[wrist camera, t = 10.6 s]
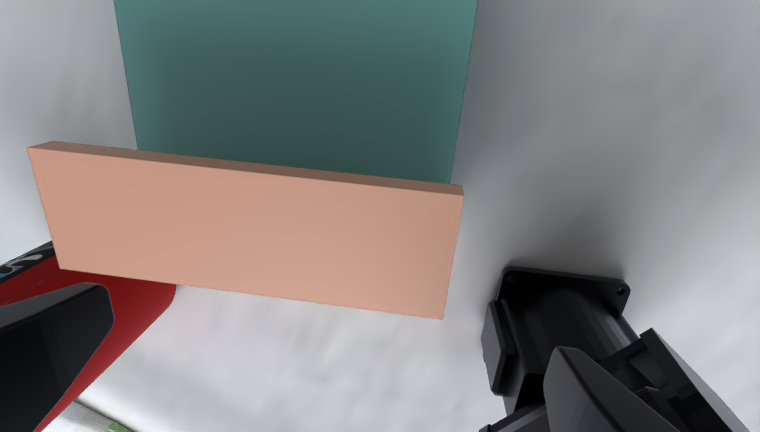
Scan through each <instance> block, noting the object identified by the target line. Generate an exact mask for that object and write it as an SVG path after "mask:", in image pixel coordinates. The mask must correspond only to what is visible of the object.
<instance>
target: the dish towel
mask: <svg viewBox="0 0 760 432" xmlns="http://www.w3.org/2000/svg"><path fill="white" fill-rule="evenodd" d="M42 432H132V431H131V430H129V429H127V428H125V427H124V426H122V425H121V424H119V423H117V422H115V421H113V420H110V419H108V418H106V417H104V416H102V415H100V414H98V413H96V412H94V411H92V410H91V409H89V408H87V407H85V406H83V405H81V404H79V403H77V402H75V401H73V402H72V403H71V404H70V405H69V406H68V407H67V408H66V409H65V410H64V411H63V412H62V413H60V414H59V415H58V416H57V417H56V418H55V419H54V420H53V421H52V422H51V423H50V424H49V425H48V426H47V427H46V428H45V429H44V430H43V431H42Z"/></svg>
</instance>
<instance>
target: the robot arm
mask: <svg viewBox="0 0 760 432" xmlns="http://www.w3.org/2000/svg"><path fill="white" fill-rule="evenodd" d="M511 274H514V275H516V276H515V277H514V278H511V279H510V278H507V277H508V276H509V275H511ZM618 288H622V289H621V290H620V291H618V292H615V290H616V289H618ZM629 294H630V287H629V286H628V285H627V284H626V283H625V282H624V281H623V280H620V279H612V278H603V277H595V276H587V275H579V274H571V273H563V272H554V271H546V270H538V269H530V268H522V267H514V266H511V267H507V268H505V269H504V270H503V271H502V273H501V277H500V282H499V286H498V290H497V295H496V299H495V300H492V301H491V302H490V303H489V304H488V309H487V313H486V318H485V322H484V326H483V331H482V335H481V341H482V346H483V358H484V362H485V363H486V367H487V373H488V378H489V383H490V389H491V391H492V392H493V394H494V395H497V396H503V400H504V405H505V409H506V414H507V417H505V418H504V419H502V420H500V421H498V422H497V423H495V424H493V425H492V426H491V425H490V424H488V425H487V426H485V427H483V428H481V429H480V430H479V432H750V431H749V430H748V429H747V428H746V427H745V426H744V424H743V423H742V422H741V421H740V420H739V419H738V418H737V416H736V415H735V414H734V413H733V412H732V411H731V410H730V408H729V407H728V406H727V405H726V404H725V403H724V402H723V400H722V399H721V398H720V397H719V396H718V395H717V394H716V393H715V392H714V391H713V390H712V389H711V388H710V387H709V386H708V385H707V384H706V383H705V382H704V381H703V380H702V379H701V378H700V376H699V375H698V374H697V373H696V372H695V371H694V370H693V369H692V368H691V367H690V366H689V365H688V364H687V363H686V362H685V361H684V360H683V359H682V358H681V357H680V356H679V355H678V354H677V353H676V352H675V351H674V350H673V349H672V348H671V347H670V346H669V345H668V344H667V343H666V342H665V341H664V340H663V338H662V337H661V336H660V335H659V334H658V333H657V332H656V331H655V330H654V329H653V328H650V329H649V330H647V331H645V332H644V333H642V334H640V337H641V338H639V337H638V336H637V335H636V333H635V332H634V331H633V329H632V328H631V327H630V325H629V324H628V323H627V321H626V320H625V319H624V317H623V316H622V313H623V310H624V307H625V305H626V302H627V300H628V297H629ZM114 319H115V318H114V312H113V308H112V303H111V299H110V295H109V291H108V289H107V288H106V286H104V285H102V284H96V283H88V282H83V283H79V284H75V285H72V286H69V287H65V288H62V289H59V290H55V291H52V292H49V293H45V294H42V295H39V296H36V297H32V298H29V299H26V300H22V301H19V302H16V303H12V304H9V305H6V306H2V307H0V432H34V430H35V429H36V428H37V427H38V426H39V425H40V423H41V422H42V421H43V420H44V419H45V418H46V416H47V415H48V414H49V413H50V412H51V411H52V409H53V408H54V407H55V406H56V404H57V403H58V402H59V401H60V400H61V398H62V397H63V396H64V395H65V393H66V392H67V391H68V389H69V388H70V387H71V385H72V384H73V382H74V381H75V380H76V378H77V377H78V375H79V374H80V373H81V371H82V370H83V368H84V367H85V366H86V364H87V363H88V361H89V360H90V359H91V357H92V356H93V354H94V353H95V352H96V350H97V349H98V348H99V346H100V345H101V343H102V342H103V341H104V339H105V338H106V336H107V335H108V334H109V332H110V331H111V329H112V327H113V325H114Z"/></svg>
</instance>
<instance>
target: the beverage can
mask: <svg viewBox="0 0 760 432" xmlns="http://www.w3.org/2000/svg"><path fill="white" fill-rule="evenodd" d="M83 282H88V283H96V284H102V285H104V286H106V288H107V289H108V291H109V295H110V299H111V303H112V308H113V312H114V318H115V319H114V325H113V327H112V329H111V331H110V332H109V334H108V335H107V336H106V338H105V339H104V341H103V342H102V343H101V345H100V346H99V348H98V349H97V350H96V352H95V353H94V354H93V356H92V357H91V359H90V360H89V361H88V363H87V364H86V366H85V367H84V368H83V370H82V371H81V373H80V374H79V375H78V377H77V378H76V380H75V381H74V382H73V384H72V385H71V387H70V388H69V389H68V391H67V392H66V393H65V395H64V396H63V397H62V398H61V400H60V401H59V402H58V403H57V404H56V406H55V407H54V408H53V409H52V411H51V412H50V413H49V414H48V415H47V416H46V418H45V419H44V420H43V421H42V422H41V423H40V425H39V426H38V427H37V428H36V429H35V430H34V432H42V431H43V430H44V429H45V428H46V427H47V426H48V425H49V424H50V423H51V422H52V421H53V420H54V419H55V418H56V417H57V416H58V415H59V414H60V413H62V412H63V411H64V410H65V409H66V408H67V407H68V406H69V405H70V404H71V403H72V402H73V401H74V400H75V399H76V398H77V397H78V396H79V395H80V394H81V393H82V392H83V391H84V390H85V389H86V388H87V387H88V386H89V385H90V384H91V383H92V382H93V381H94V380H95V379H97V378H98V377H99V376H100V375H101V374H102V373H103V372H104V371H105V370H106V369H107V368H108V367H109V366H110V365H111V364H112V363H113V362H114V361H115V360H116V359H117V358H118V357H119V356H120V355H121V354H122V353H123V352H124V351H125V350H126V349H127V348H128V347H129V346H130V345H131V344H132V343H133V342H134V341H135V340H136V339H137V338H138V337H139V336H140V335H141V334H142V333H143V332H144V331H145V330H146V329H147V328H148V327H149V326H150V325H151V324H152V323H153V322H154V321H155V320H156V319H157V318H158V317H159V316H160V315H161V314H162V313H163V312H164V311H165V310H166V309H167V308H168V307H169V306H170V304H171V302H172V300H173V298H174V295H175V291H176V284H171V283H164V282H156V281H149V280H141V279H134V278H126V277H119V276H111V275H104V274H97V273H89V272H82V271H74V270H67V269H60V267H59V264H58V260H57V256H56V253H55V249H54V246H53V242H52V241H50V242H48V243H45V244H43V245H41V246H39V247H37V248H35V249H33V250H31V251H29V252H27V253H25V254H23V255H21V256H19V257H17V258H15V259H13V260H10V261H8V262H6V263H4V264H2V265H0V307H2V306H6V305H9V304H12V303H16V302H19V301H22V300H26V299H29V298H32V297H36V296H39V295H42V294H45V293H49V292H52V291H55V290H59V289H62V288H65V287H69V286H72V285H75V284H79V283H83Z"/></svg>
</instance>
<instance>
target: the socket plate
mask: <svg viewBox="0 0 760 432" xmlns="http://www.w3.org/2000/svg"><path fill="white" fill-rule="evenodd" d="M477 3H478V0H114V6H115V12H116V18H117V24H118V30H119V37H120V43H121V49H122V55H123V61H124V67H125V73H126V79H127V86H128V92H129V98H130V104H131V110H132V116H133V122H134V128H135V135H136V141H137V147H138V150H131V149H121V148H112V147H103V146H94V145H85V144H75V143H66V142H57V141H52V142H48V143H44V144H39V145H35V146H31V147H27V151H28V154H29V158H30V162H31V165H32V169H33V173H34V176H35V180H36V184H37V187H38V191H39V195H40V198H41V202H42V205H43V209H44V213H45V216H46V220H47V224H48V227H49V231H50V235H51V238H52V242H53V246H54V249H55V253H56V256H57V260H58V264H59V267H60V269H67V270H74V271H82V272H89V273H97V274H104V275H111V276H119V277H126V278H134V279H141V280H149V281H156V282H164V283H171V284H179V285H186V286H194V287H201V288H208V289H216V290H223V291H231V292H238V293H246V294H253V295H261V296H268V297H276V298H283V299H291V300H298V301H305V302H313V303H320V304H328V305H335V306H343V307H350V308H358V309H365V310H373V311H380V312H388V313H395V314H402V315H410V316H417V317H425V318H432V319H440V320H443V316H444V310H445V305H446V299H447V293H448V287H449V281H450V276H451V270H452V264H453V258H454V252H455V247H456V241H457V235H458V229H459V223H460V218H461V212H462V206H463V200H464V193H463V189H462V186H461V185H452V184H449V183H450V177H451V170H452V164H453V158H454V151H455V145H456V138H457V132H458V125H459V119H460V112H461V106H462V99H463V93H464V87H465V80H466V74H467V67H468V61H469V54H470V48H471V41H472V35H473V28H474V22H475V15H476V9H477Z"/></svg>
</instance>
